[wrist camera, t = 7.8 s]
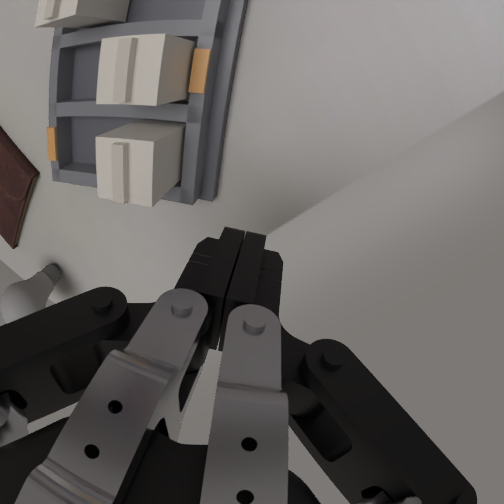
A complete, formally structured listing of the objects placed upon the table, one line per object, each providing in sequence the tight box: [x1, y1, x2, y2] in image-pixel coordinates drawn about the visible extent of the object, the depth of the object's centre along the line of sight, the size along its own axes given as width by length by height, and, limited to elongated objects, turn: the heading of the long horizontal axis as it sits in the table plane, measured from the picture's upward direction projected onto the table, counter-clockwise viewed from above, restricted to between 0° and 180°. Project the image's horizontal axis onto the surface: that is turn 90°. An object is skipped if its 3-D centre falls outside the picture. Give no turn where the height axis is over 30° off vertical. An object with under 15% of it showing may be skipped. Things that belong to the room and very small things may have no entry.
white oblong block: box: [96, 119, 186, 207], centre depth 18 cm, size 4×4×7 cm
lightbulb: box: [1, 264, 60, 324], centre depth 28 cm, size 6×6×11 cm
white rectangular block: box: [96, 34, 197, 106], centre depth 14 cm, size 4×4×7 cm
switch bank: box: [47, 0, 248, 205], centre depth 17 cm, size 16×20×4 cm
